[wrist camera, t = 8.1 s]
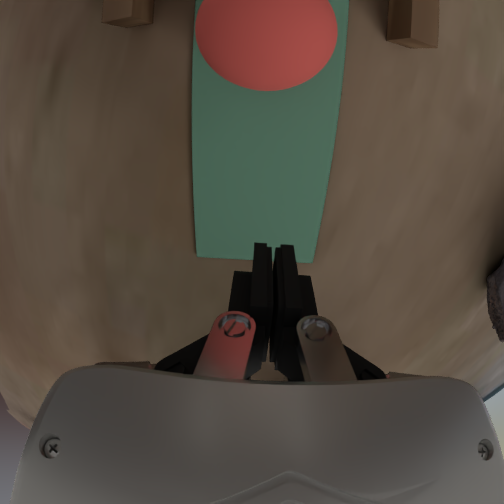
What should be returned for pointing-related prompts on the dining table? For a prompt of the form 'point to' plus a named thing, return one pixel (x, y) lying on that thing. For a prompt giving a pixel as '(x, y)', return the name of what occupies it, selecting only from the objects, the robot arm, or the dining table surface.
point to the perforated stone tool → (496, 300)
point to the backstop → (398, 28)
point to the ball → (266, 40)
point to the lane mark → (263, 157)
